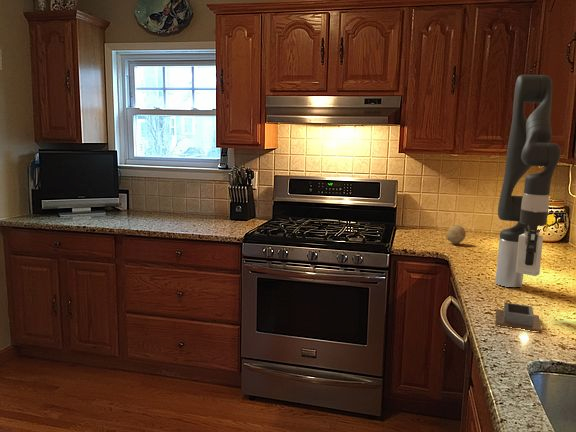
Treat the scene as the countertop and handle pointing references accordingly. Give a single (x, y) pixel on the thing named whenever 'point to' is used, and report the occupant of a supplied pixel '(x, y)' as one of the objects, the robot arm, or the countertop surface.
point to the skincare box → (521, 256)
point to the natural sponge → (456, 234)
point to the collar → (518, 317)
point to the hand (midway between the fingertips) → (528, 262)
